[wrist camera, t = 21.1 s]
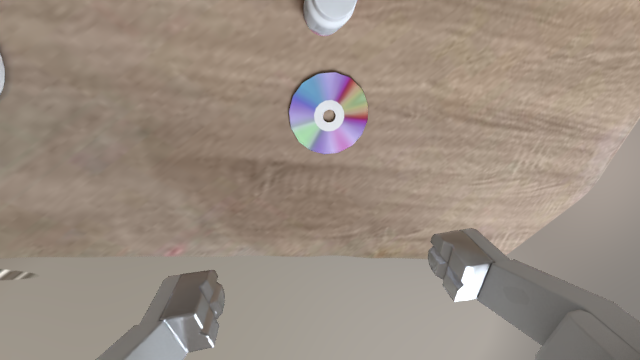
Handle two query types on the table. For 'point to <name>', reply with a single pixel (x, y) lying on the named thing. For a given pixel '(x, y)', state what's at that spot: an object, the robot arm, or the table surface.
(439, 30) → the table surface
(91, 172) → the table surface
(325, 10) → the pill bottle
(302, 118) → the cd
